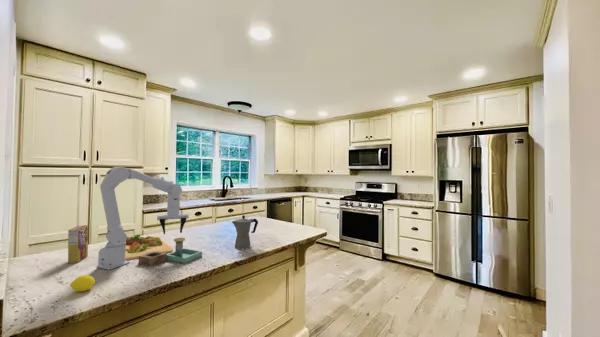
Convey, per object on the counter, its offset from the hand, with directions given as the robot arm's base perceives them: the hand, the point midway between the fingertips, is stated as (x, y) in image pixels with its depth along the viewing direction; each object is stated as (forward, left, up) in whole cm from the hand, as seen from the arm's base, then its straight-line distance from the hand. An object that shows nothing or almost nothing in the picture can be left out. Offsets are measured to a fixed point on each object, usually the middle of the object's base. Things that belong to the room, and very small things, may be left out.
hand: (172, 233), depth 133 cm
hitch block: (-13, -2, -10) cm, 17 cm away
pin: (-5, -9, -10) cm, 14 cm away
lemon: (-43, -4, -11) cm, 45 cm away
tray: (-3, -11, -10) cm, 15 cm away
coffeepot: (+26, -27, -11) cm, 39 cm away
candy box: (-25, +31, -11) cm, 41 cm away
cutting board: (0, +22, -11) cm, 25 cm away
